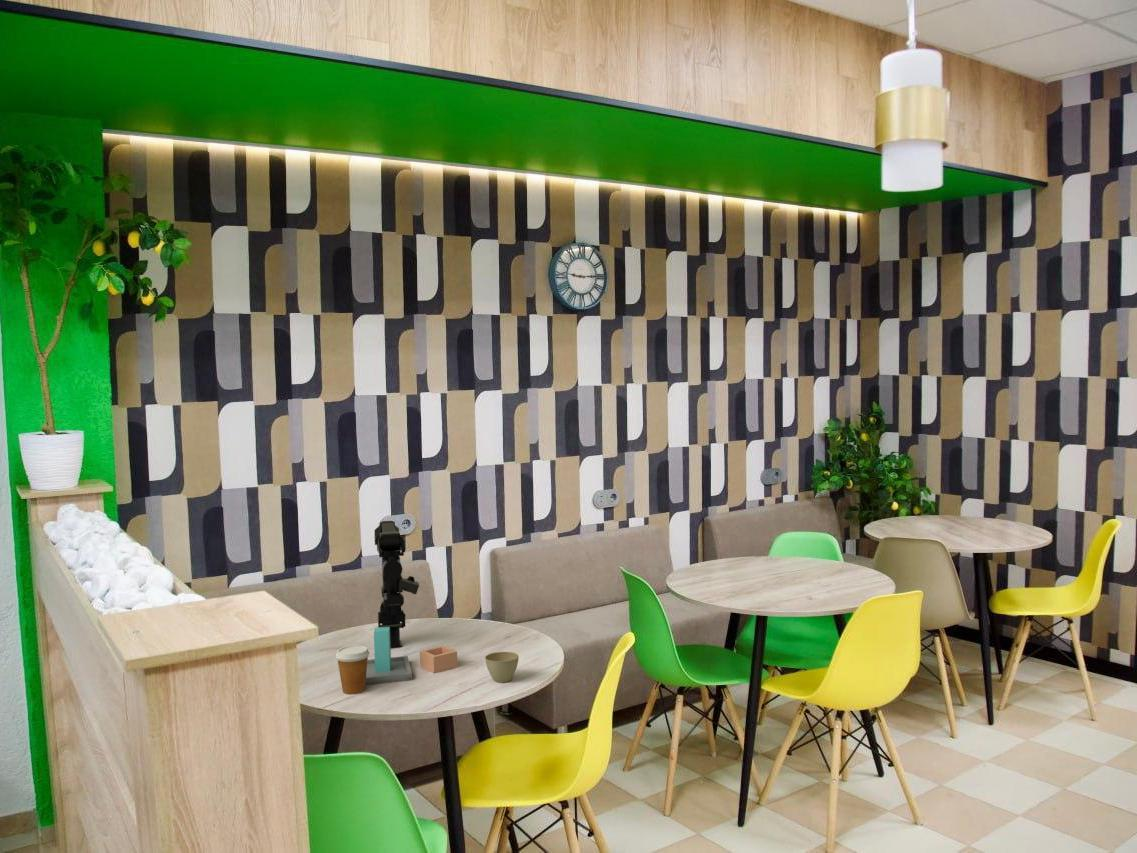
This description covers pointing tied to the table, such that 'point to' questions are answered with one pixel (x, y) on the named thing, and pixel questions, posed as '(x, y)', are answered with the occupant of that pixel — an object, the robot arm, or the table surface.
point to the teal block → (382, 649)
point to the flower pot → (502, 665)
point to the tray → (397, 672)
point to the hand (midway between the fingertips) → (393, 620)
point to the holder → (438, 659)
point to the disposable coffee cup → (353, 668)
